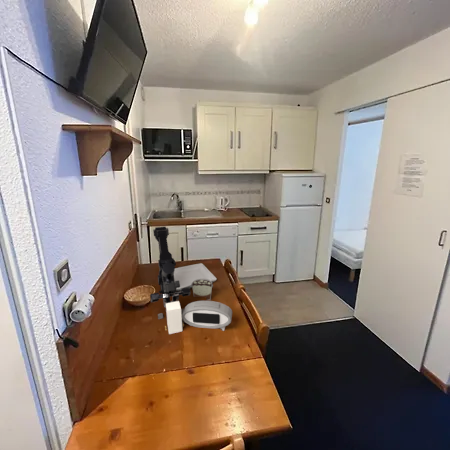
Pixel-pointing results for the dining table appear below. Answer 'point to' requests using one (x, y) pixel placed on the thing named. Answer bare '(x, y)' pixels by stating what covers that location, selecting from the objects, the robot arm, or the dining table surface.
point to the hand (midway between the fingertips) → (173, 312)
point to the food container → (202, 288)
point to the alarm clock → (207, 314)
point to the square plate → (192, 275)
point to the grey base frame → (162, 315)
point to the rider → (174, 317)
